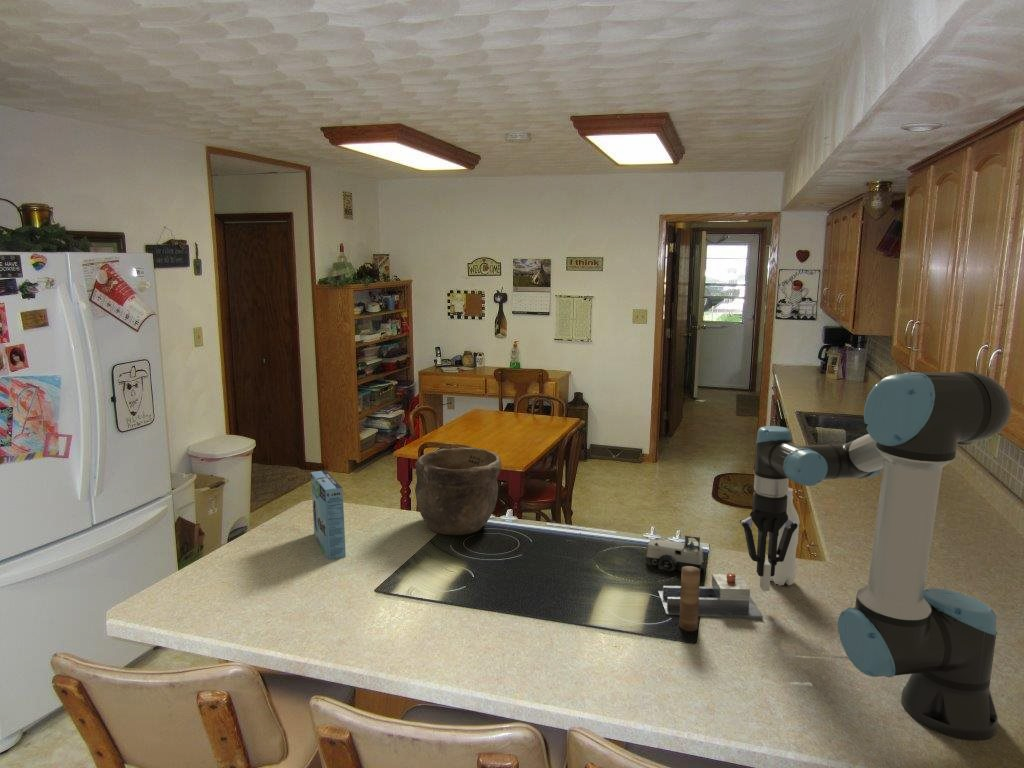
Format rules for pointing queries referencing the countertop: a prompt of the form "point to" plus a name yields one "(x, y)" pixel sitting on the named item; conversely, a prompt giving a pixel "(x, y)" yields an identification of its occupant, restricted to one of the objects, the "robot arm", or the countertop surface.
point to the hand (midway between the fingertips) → (764, 588)
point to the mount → (710, 604)
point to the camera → (674, 554)
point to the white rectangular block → (730, 587)
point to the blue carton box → (328, 514)
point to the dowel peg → (689, 598)
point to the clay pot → (457, 489)
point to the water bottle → (787, 568)
